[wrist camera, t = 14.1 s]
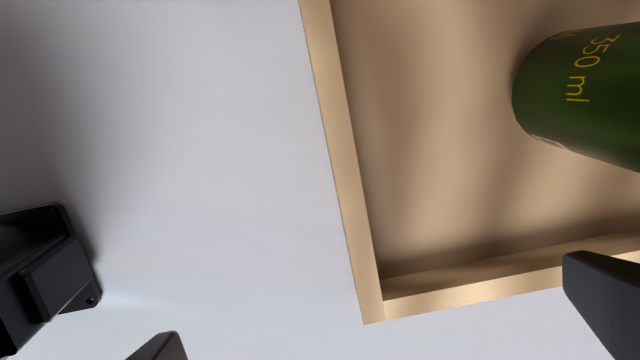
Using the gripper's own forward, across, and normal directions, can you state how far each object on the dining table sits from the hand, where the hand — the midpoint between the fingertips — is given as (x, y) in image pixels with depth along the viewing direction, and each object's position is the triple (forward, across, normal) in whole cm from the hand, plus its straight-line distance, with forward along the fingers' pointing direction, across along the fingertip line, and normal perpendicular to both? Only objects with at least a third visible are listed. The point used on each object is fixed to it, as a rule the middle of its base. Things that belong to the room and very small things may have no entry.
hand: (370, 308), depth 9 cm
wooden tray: (+13, -9, -1) cm, 16 cm away
